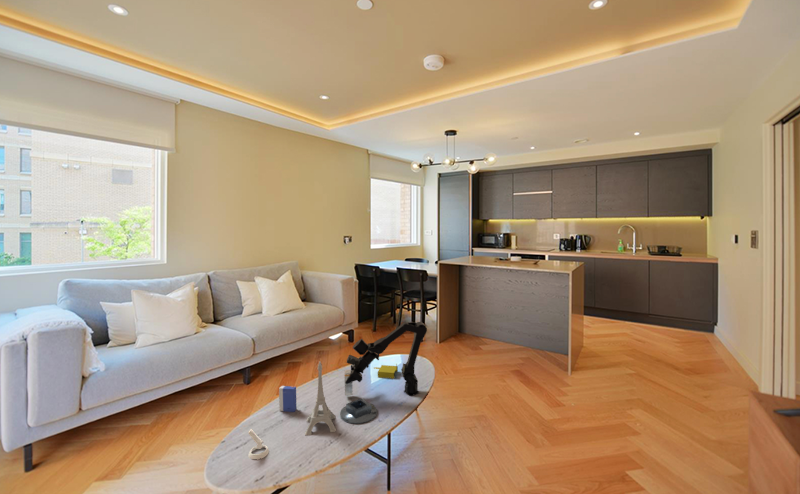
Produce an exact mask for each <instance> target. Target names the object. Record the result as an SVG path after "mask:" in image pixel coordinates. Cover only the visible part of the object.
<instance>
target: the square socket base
mask: <svg viewBox="0 0 800 494" xmlns="http://www.w3.org/2000/svg"><path fill="white" fill-rule="evenodd" d="M339 413H340V418H341V420H342V421H343V422H346V423H348V424H351V425H352V424H353V425H361V424H365V423H368V422H371V421H373V420H374V419H375V418H376V417H377V415H378V409H377V407H376V406H375V405H374V404H372V403H370V402H368V401H366V400H365V399H363V398H362V397H361V398H358V399H355V400H353V401H351V402H347V403H345V406H343V408H341V410H340V412H339Z"/></svg>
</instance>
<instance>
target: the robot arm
mask: <svg viewBox="0 0 800 494" xmlns="http://www.w3.org/2000/svg"><path fill="white" fill-rule="evenodd" d="M406 332H410V333H411V332H412V333H413V340H412V343H411V347H410V351H409V353H408V357H407V360H406V361H407V362H406V363H405V362H404V363H402V367H401V374H402V378H403V380H404V390H403V392H404V393H405V394H407V396H410V397H411V396H412V397H413V396H414V395H417V394H419V393H420V391H419V389H418V388H419V387H418V382H419V381H418V378H417V376H416V374H415V365H416V360H417V357H418V354H419V349H420V347H421V343H422V341H423V339H424V338H425V336H426V334H427V332H428V329H427V326H426V325H425V323H423V321H417V322H413V321H412V322H407V321H404V322H402V323H401V324H400V325H399V326H397V327H396V328H395V329H394V330H392V331H391V332H390V333H388V334H387V335H386V336H384V337H381V338H378V339H377V340H375V341H374V342H370V343H367V342H366V341H365V340H364V339H363V338H360V339H359V340H357V341H356V342H355V343H354V344H353V345H352V350H354V351H355V352H356V353H358V354H359V355H360V357H357V356H354V355H353V354H352V355H351V354H349V355H348V356H347V359H346V363H347V365H350V370H352V371H351V375H350V376H349V378H348V379H347V381H346V382H345V381H344V384H345V383H346V384H348V383H351V382H352V383H353V382H356V381H357V382H358V383H361V382H362V381H363V373H364V371H365V370H366V369H369V367H370V364H372V362H374V360H375V359H376V360H377V361H379V360H380V355H381V354H383V353H384V351H386V350H387V348H388V346H389V345H390V344H391V343H393V342H394V341H395V340H396V339H398V338H400V337H401V336H402V335H404V334H405V333H406Z"/></svg>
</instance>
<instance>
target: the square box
mask: <svg viewBox="0 0 800 494" xmlns="http://www.w3.org/2000/svg"><path fill="white" fill-rule="evenodd" d="M351 371H352V370H351V369H348V370H347V369H345V370H344V396H353V393H354V392H353V391H354V390H353V382H351V383H348V384H346V383H345V382H346V381H347V379H348V378H349V376H350V375H351Z"/></svg>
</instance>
